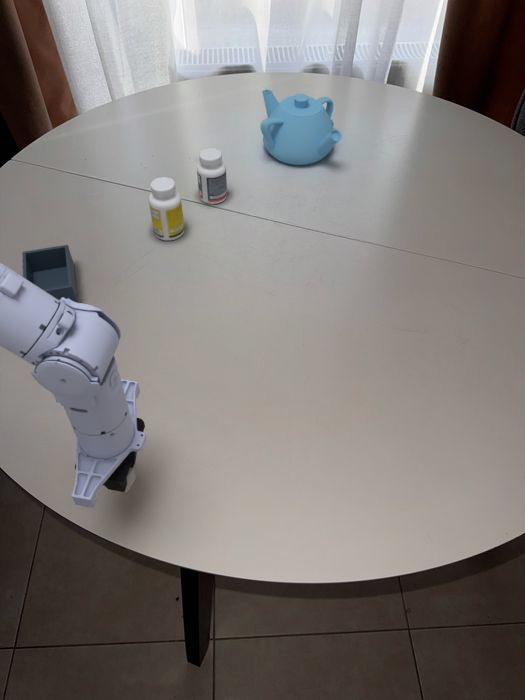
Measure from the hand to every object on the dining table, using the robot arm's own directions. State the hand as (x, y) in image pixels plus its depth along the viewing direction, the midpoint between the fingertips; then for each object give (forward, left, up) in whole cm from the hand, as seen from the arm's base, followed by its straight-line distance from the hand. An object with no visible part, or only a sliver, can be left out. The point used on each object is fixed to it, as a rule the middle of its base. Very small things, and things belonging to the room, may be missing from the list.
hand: (121, 476), depth 68 cm
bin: (-14, +36, -4) cm, 39 cm away
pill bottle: (+12, +59, -4) cm, 61 cm away
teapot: (+30, +74, -4) cm, 80 cm away
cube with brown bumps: (0, 0, -2) cm, 2 cm away
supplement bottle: (+4, +49, -4) cm, 50 cm away
